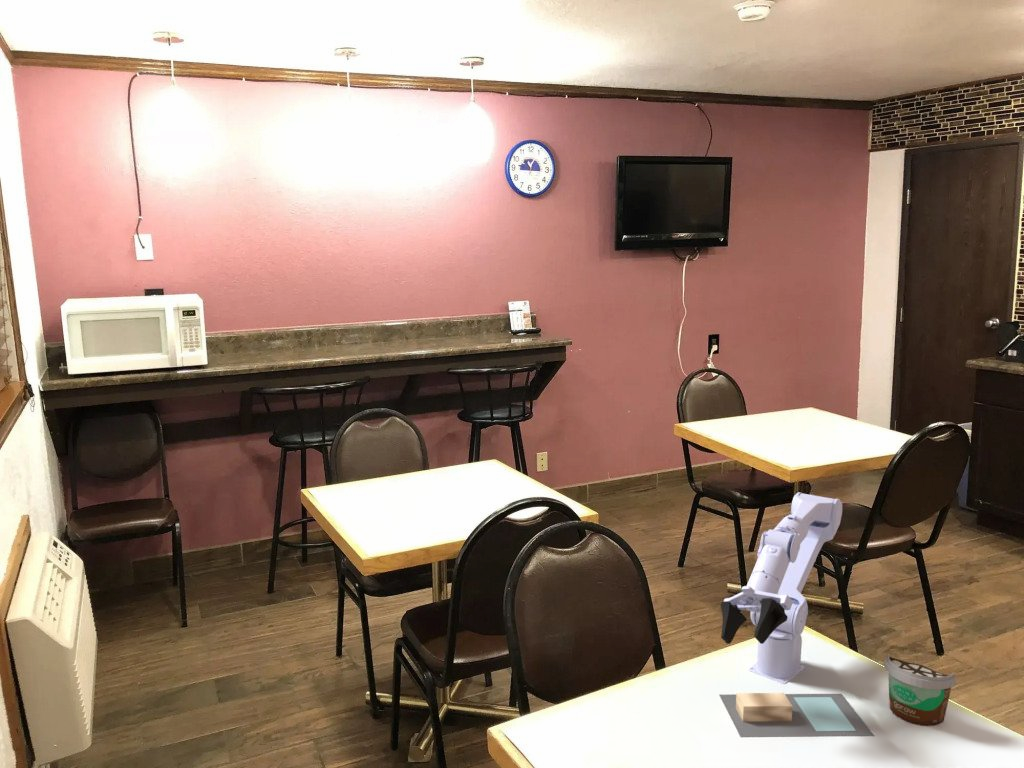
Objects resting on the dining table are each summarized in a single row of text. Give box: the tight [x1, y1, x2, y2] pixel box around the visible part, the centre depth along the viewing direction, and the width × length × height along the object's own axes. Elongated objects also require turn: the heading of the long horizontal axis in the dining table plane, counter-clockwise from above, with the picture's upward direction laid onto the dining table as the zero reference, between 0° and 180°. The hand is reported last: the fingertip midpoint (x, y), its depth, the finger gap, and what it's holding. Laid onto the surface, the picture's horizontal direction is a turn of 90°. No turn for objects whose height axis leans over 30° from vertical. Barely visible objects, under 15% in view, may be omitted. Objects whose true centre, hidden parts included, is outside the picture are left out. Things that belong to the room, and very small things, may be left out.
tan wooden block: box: [736, 692, 793, 722], centre depth 151 cm, size 9×4×3 cm, turn 91°
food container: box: [883, 652, 957, 727], centre depth 150 cm, size 12×6×10 cm, turn 47°
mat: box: [719, 693, 875, 738], centre depth 151 cm, size 24×14×1 cm, turn 91°
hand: (741, 640), depth 148 cm, fingers open, 7 cm apart
